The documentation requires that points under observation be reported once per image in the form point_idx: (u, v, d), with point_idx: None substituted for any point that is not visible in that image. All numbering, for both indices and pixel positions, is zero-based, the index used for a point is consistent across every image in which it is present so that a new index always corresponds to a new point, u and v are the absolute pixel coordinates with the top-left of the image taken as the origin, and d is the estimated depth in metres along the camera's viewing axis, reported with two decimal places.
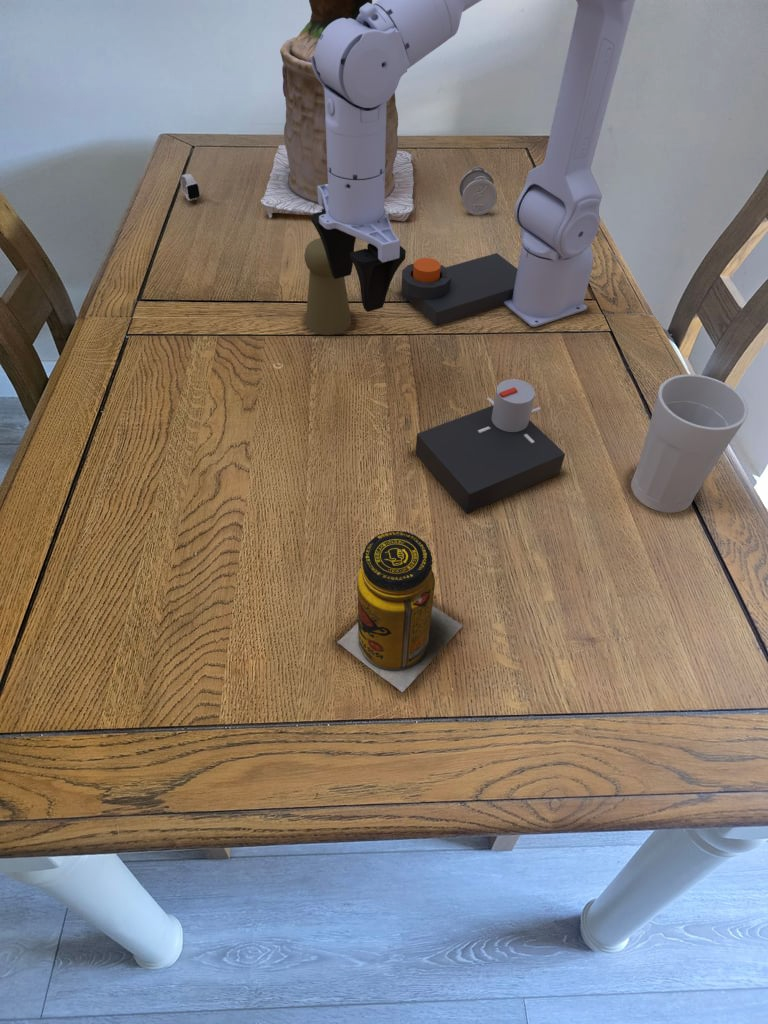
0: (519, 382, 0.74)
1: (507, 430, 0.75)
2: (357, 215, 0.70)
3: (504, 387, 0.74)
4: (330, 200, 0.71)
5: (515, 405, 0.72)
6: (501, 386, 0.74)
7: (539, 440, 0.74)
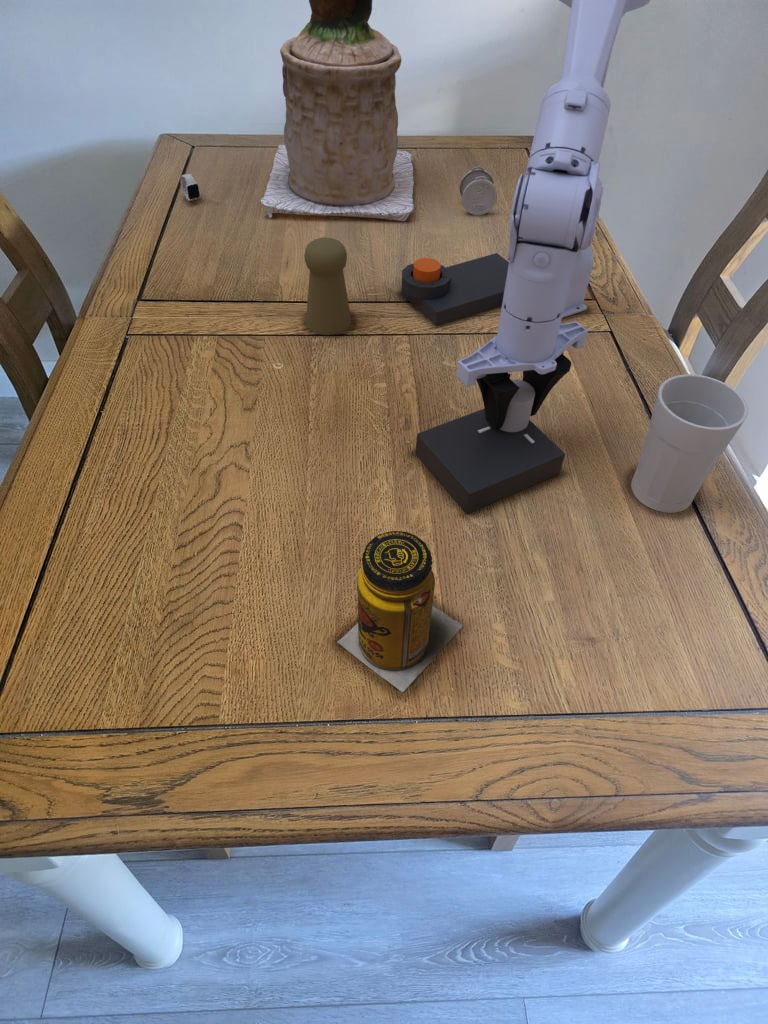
0: (519, 382, 0.74)
1: (507, 430, 0.75)
2: None
3: None
4: (543, 346, 0.66)
5: (515, 405, 0.72)
6: None
7: (539, 440, 0.74)
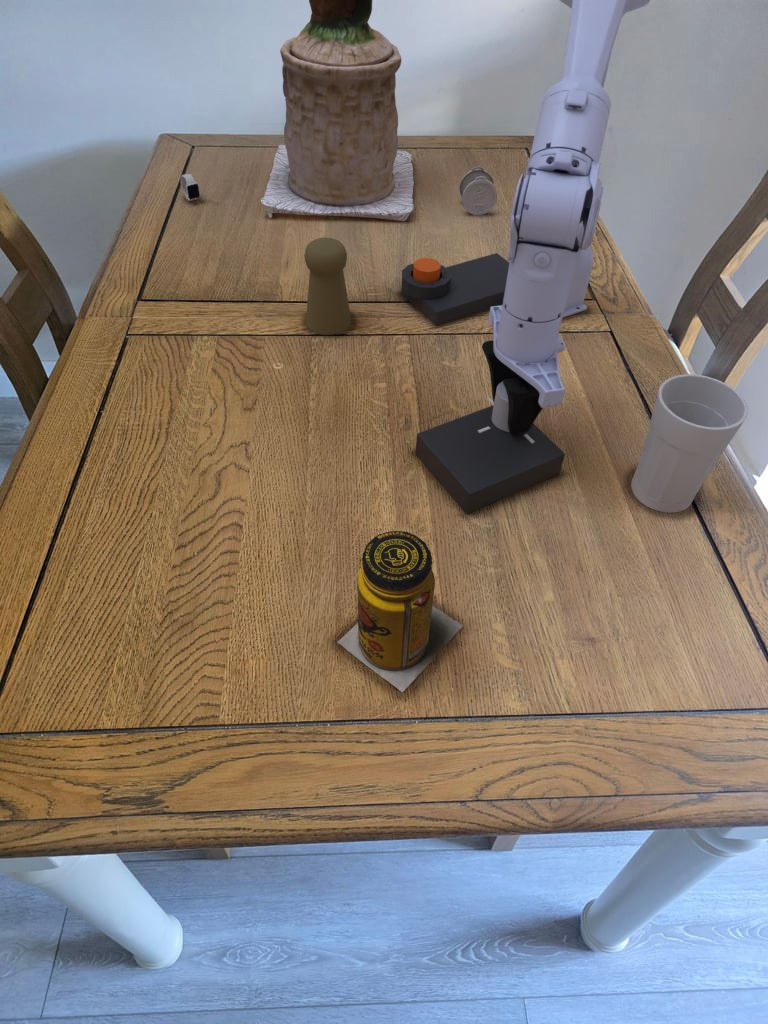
0: (503, 385, 0.74)
1: None
2: None
3: None
4: None
5: None
6: (507, 397, 0.73)
7: (539, 440, 0.74)
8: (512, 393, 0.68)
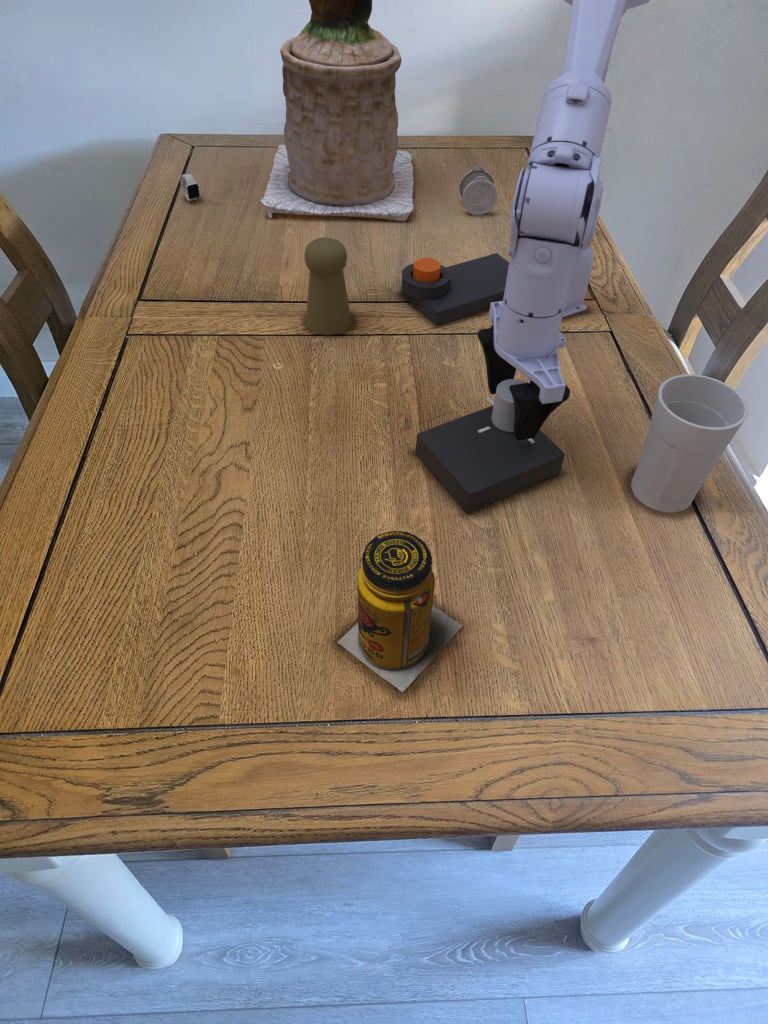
0: (503, 385, 0.74)
1: None
2: None
3: (509, 396, 0.73)
4: None
5: None
6: (507, 397, 0.73)
7: (539, 440, 0.74)
8: (519, 400, 0.66)
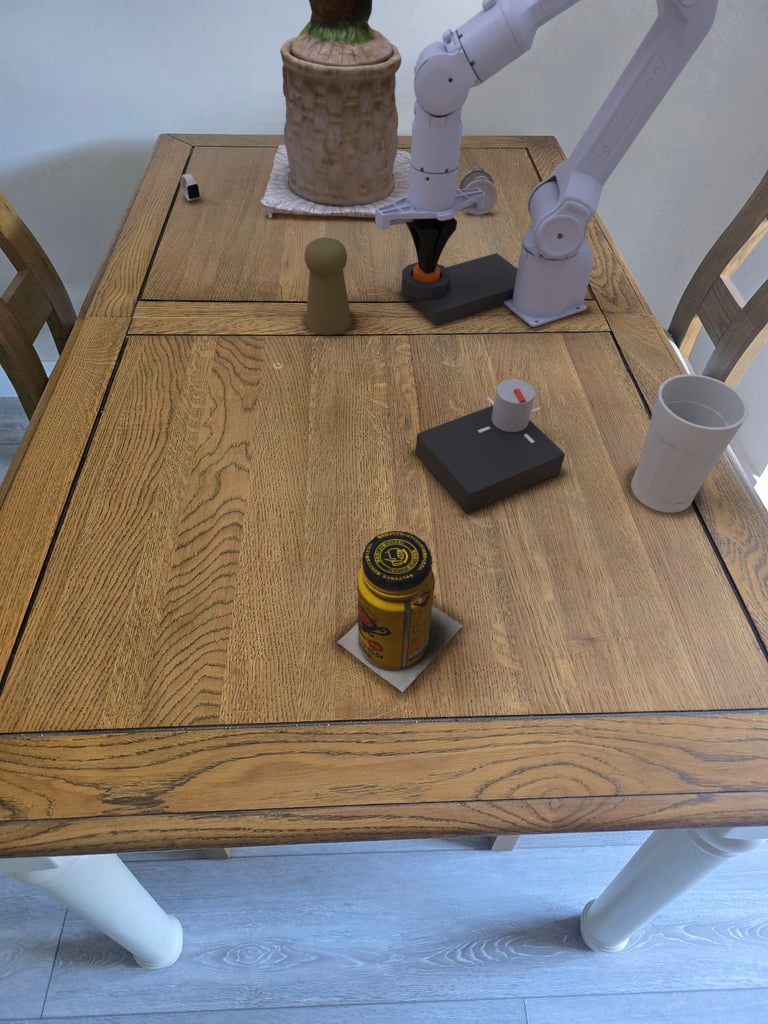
0: (503, 385, 0.74)
1: (527, 425, 0.76)
2: (455, 193, 0.86)
3: (509, 396, 0.73)
4: (442, 197, 0.84)
5: None
6: (507, 397, 0.73)
7: (539, 440, 0.74)
8: None
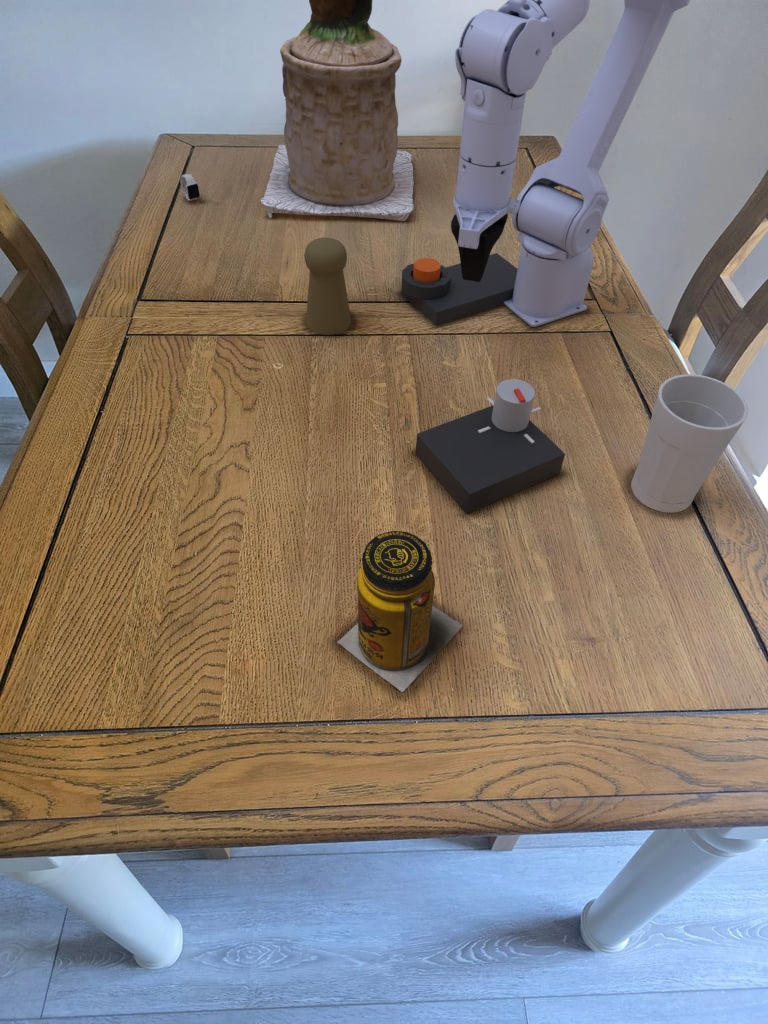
0: (503, 385, 0.74)
1: (527, 425, 0.76)
2: None
3: (509, 396, 0.73)
4: (510, 187, 0.73)
5: None
6: (507, 397, 0.73)
7: (539, 440, 0.74)
8: (451, 225, 0.75)
